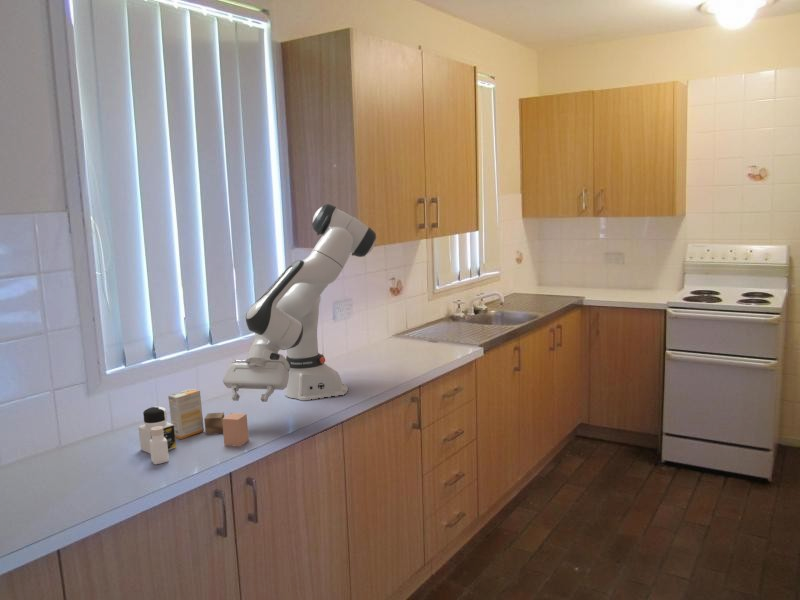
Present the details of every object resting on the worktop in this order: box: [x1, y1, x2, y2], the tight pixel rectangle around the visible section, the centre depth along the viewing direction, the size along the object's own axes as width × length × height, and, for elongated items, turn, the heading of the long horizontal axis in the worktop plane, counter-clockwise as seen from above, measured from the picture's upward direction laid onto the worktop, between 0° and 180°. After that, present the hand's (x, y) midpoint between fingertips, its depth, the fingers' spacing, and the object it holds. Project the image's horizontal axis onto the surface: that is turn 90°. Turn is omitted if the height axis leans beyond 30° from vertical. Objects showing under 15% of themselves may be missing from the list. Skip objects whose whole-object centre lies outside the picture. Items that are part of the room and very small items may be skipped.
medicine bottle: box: [138, 406, 177, 455], centre depth 186 cm, size 7×7×12 cm
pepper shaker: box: [149, 426, 170, 465], centre depth 176 cm, size 4×4×10 cm
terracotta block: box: [222, 412, 249, 447], centre depth 188 cm, size 5×5×8 cm
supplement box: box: [167, 388, 205, 440], centre depth 197 cm, size 8×5×13 cm, turn 141°
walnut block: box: [203, 411, 225, 435], centre depth 199 cm, size 5×5×5 cm
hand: (249, 400), depth 195 cm, fingers open, 8 cm apart
